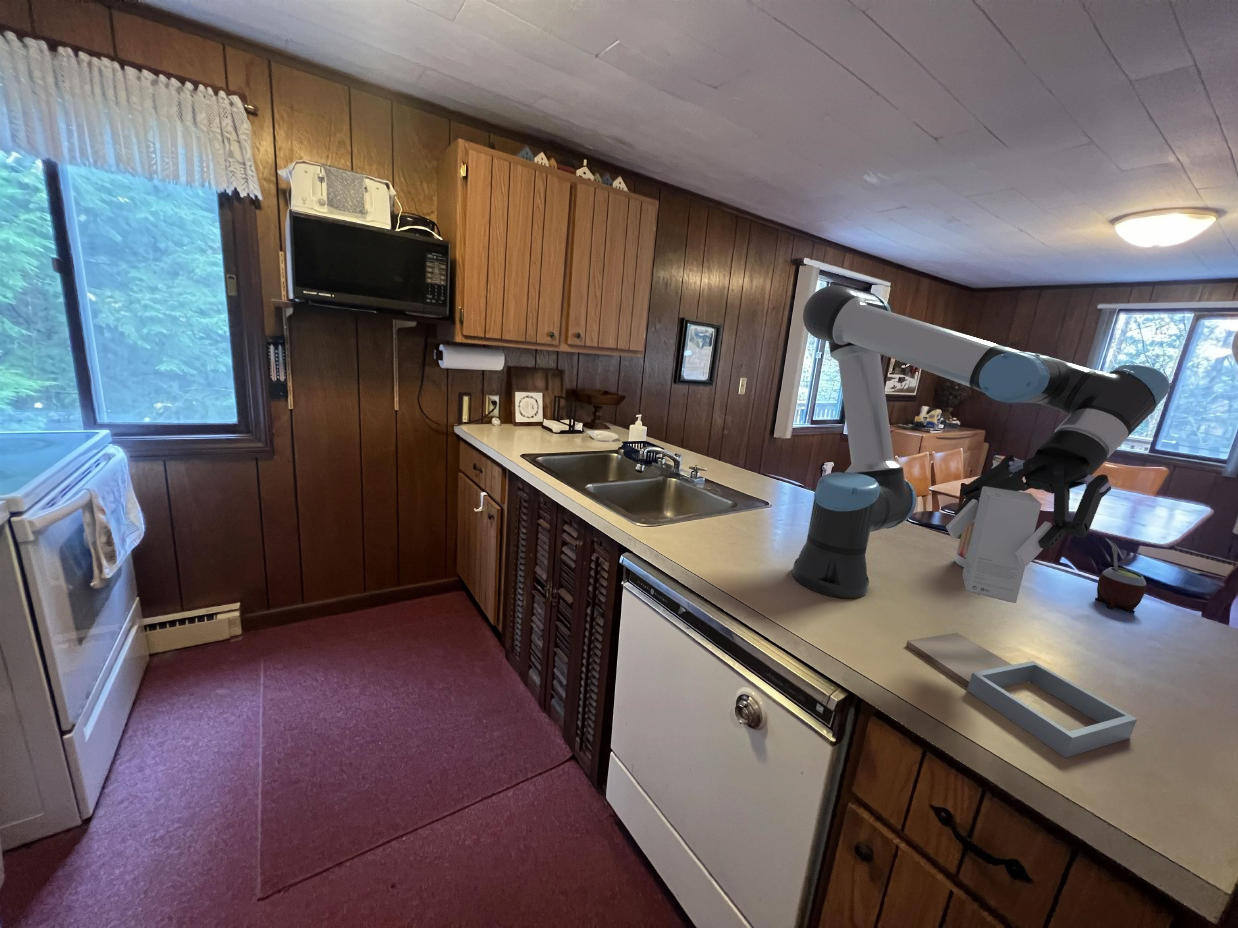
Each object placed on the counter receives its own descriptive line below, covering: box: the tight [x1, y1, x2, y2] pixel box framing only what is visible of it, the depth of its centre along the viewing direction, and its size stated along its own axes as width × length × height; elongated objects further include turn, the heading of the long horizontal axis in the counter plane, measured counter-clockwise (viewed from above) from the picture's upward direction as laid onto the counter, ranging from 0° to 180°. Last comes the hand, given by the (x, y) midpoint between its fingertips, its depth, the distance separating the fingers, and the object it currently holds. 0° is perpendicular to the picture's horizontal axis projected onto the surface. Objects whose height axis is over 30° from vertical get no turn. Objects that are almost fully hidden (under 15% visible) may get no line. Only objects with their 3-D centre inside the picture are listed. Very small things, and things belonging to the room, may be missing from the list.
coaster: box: [905, 632, 1013, 688], centre depth 80 cm, size 11×12×1 cm
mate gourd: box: [1094, 537, 1147, 614], centre depth 103 cm, size 8×8×15 cm
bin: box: [966, 660, 1138, 759], centre depth 68 cm, size 13×14×3 cm
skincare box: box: [961, 487, 1043, 604], centre depth 75 cm, size 8×7×16 cm
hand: (983, 545), depth 74 cm, fingers closed on skincare box, 10 cm apart
